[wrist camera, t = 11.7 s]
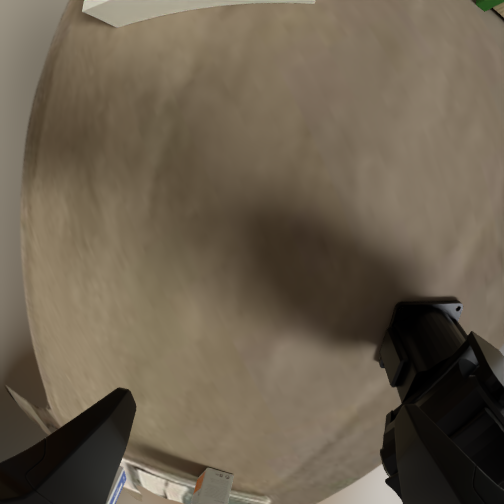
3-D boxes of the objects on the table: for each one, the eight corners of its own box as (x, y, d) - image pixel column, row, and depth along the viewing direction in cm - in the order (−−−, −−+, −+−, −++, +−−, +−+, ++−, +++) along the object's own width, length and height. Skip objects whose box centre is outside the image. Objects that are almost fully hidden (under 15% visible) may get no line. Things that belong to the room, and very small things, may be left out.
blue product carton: (126, 478, 42) (108, 521, 31) (114, 473, 42) (95, 514, 31) (123, 467, 39) (102, 514, 28) (110, 461, 39) (88, 507, 28)
